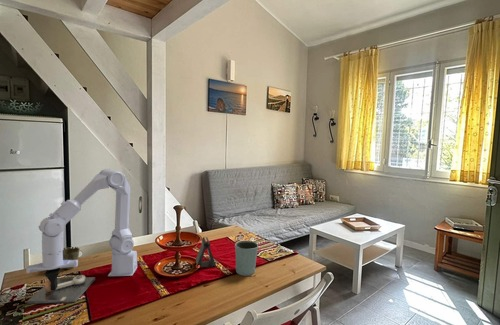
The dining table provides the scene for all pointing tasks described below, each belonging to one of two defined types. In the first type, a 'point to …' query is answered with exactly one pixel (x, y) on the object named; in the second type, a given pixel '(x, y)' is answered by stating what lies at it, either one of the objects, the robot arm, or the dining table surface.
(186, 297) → the dining table surface
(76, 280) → the lever
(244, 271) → the green tumbler
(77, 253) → the cup
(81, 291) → the lock base
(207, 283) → the dining table surface
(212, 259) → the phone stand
